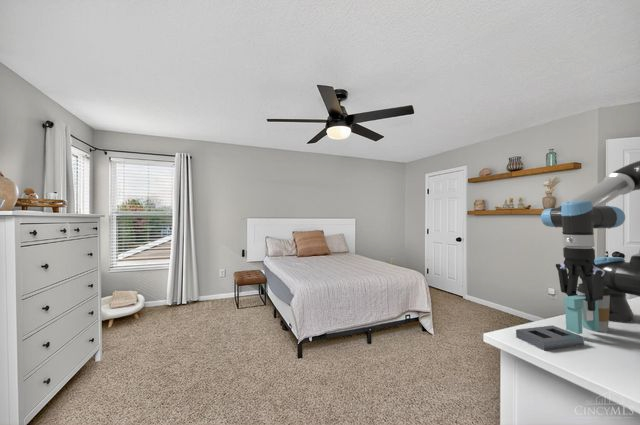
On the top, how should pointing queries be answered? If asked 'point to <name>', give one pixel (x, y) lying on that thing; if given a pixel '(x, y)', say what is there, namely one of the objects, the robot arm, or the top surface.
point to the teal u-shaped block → (579, 315)
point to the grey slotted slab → (549, 337)
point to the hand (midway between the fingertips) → (581, 317)
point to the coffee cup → (600, 308)
